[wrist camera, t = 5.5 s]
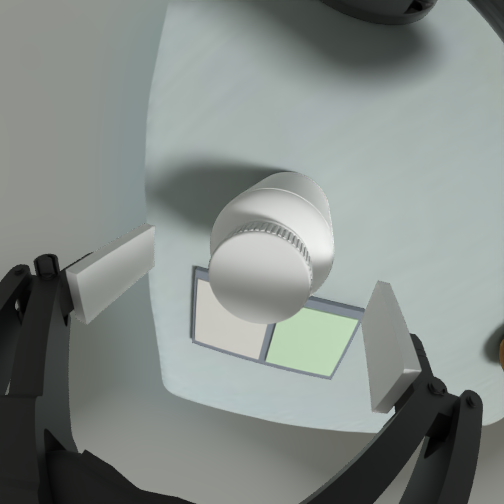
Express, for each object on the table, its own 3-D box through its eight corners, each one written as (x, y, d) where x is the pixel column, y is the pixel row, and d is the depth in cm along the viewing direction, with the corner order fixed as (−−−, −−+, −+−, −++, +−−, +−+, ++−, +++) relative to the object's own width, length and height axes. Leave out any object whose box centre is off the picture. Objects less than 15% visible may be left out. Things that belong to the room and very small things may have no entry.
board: (198, 266, 32) (194, 270, 31) (364, 308, 29) (365, 314, 28) (194, 339, 37) (191, 343, 36) (331, 375, 34) (330, 381, 33)
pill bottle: (340, 185, 24) (364, 238, 11) (313, 257, 28) (302, 362, 15) (262, 159, 25) (195, 182, 12) (242, 233, 29) (175, 315, 15)
